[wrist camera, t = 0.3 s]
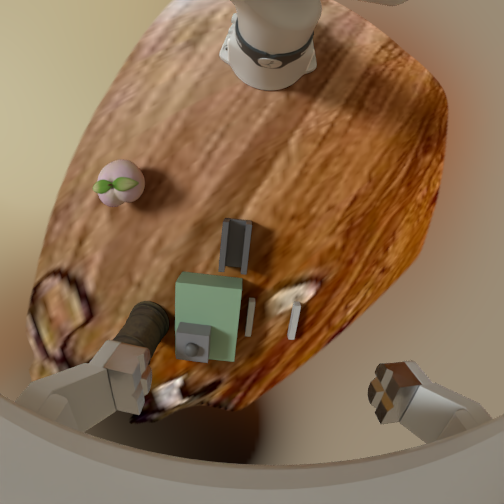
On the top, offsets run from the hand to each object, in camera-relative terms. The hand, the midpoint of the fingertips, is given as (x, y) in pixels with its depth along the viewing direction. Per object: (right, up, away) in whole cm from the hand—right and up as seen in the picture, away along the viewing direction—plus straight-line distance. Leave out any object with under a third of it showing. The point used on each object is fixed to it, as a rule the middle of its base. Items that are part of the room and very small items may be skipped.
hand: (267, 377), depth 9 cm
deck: (-3, -9, +50) cm, 50 cm away
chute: (-4, +6, +46) cm, 47 cm away
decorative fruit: (-24, +18, +42) cm, 52 cm away
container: (-23, -10, +50) cm, 56 cm away
